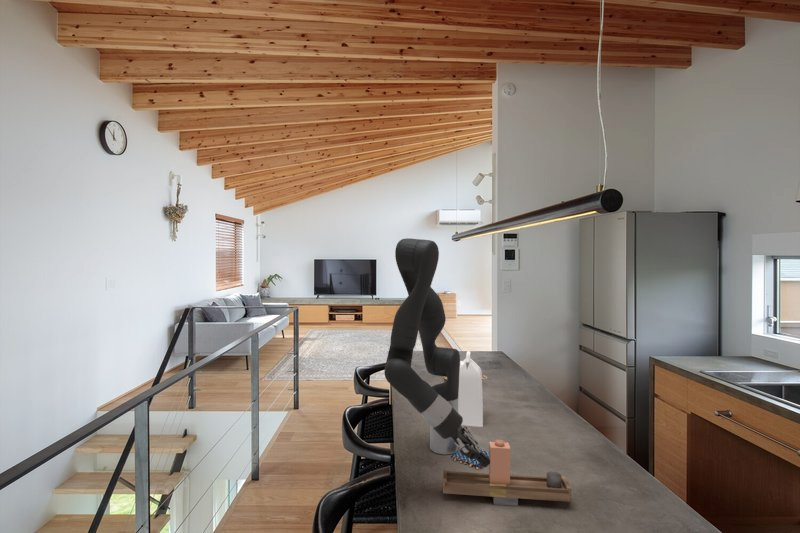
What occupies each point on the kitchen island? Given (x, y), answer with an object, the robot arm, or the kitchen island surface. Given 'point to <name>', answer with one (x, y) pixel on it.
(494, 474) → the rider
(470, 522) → the kitchen island surface
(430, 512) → the kitchen island surface
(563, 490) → the beam
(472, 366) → the milk
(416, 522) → the kitchen island surface
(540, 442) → the kitchen island surface
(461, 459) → the woven mat
